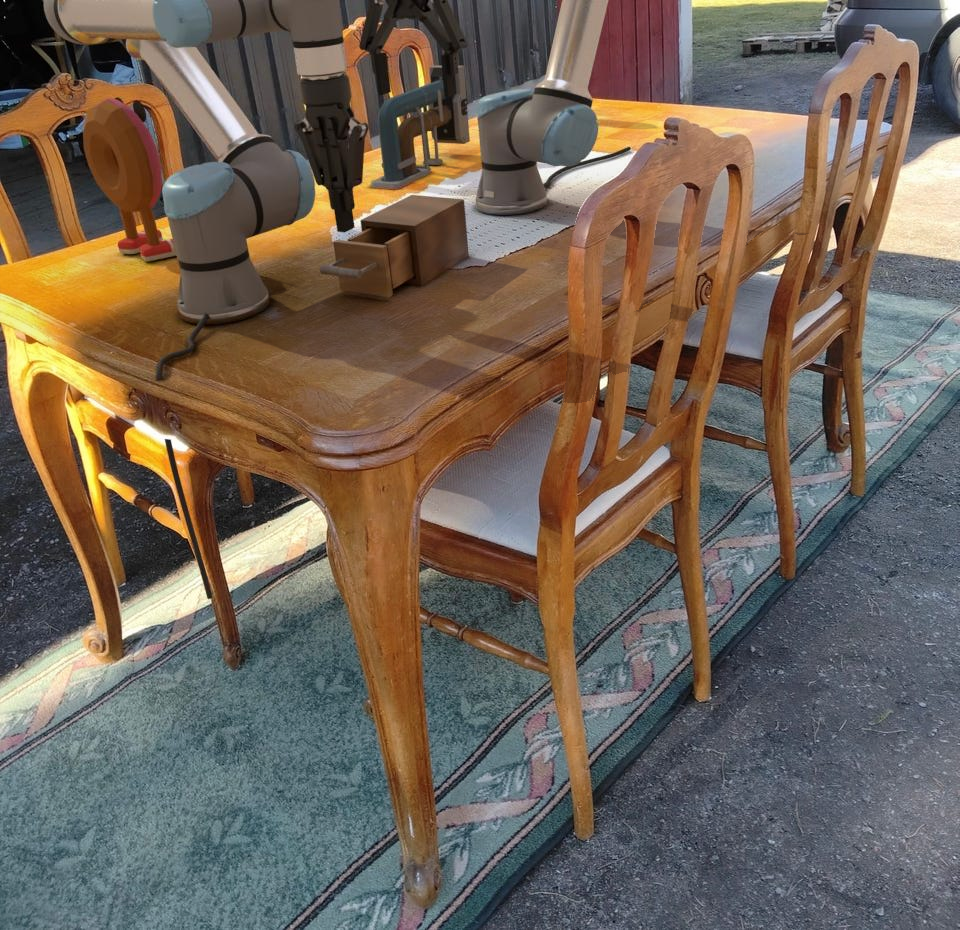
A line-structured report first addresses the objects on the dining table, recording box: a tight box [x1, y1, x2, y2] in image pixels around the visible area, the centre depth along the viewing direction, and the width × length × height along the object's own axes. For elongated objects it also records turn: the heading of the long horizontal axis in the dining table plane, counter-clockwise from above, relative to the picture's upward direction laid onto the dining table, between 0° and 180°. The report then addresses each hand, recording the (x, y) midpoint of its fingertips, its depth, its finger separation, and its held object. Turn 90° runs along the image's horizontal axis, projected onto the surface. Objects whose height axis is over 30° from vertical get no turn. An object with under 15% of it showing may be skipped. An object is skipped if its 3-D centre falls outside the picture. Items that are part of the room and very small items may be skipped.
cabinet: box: [360, 194, 470, 286], centre depth 175 cm, size 16×12×11 cm
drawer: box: [319, 227, 415, 298], centre depth 166 cm, size 21×10×9 cm, turn 150°
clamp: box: [369, 64, 471, 190], centre depth 235 cm, size 35×9×21 cm, turn 151°
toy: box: [82, 96, 177, 262], centre depth 190 cm, size 21×10×30 cm, turn 47°
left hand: (346, 229), depth 157 cm, fingers closed
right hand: (417, 94), depth 166 cm, fingers open, 13 cm apart
